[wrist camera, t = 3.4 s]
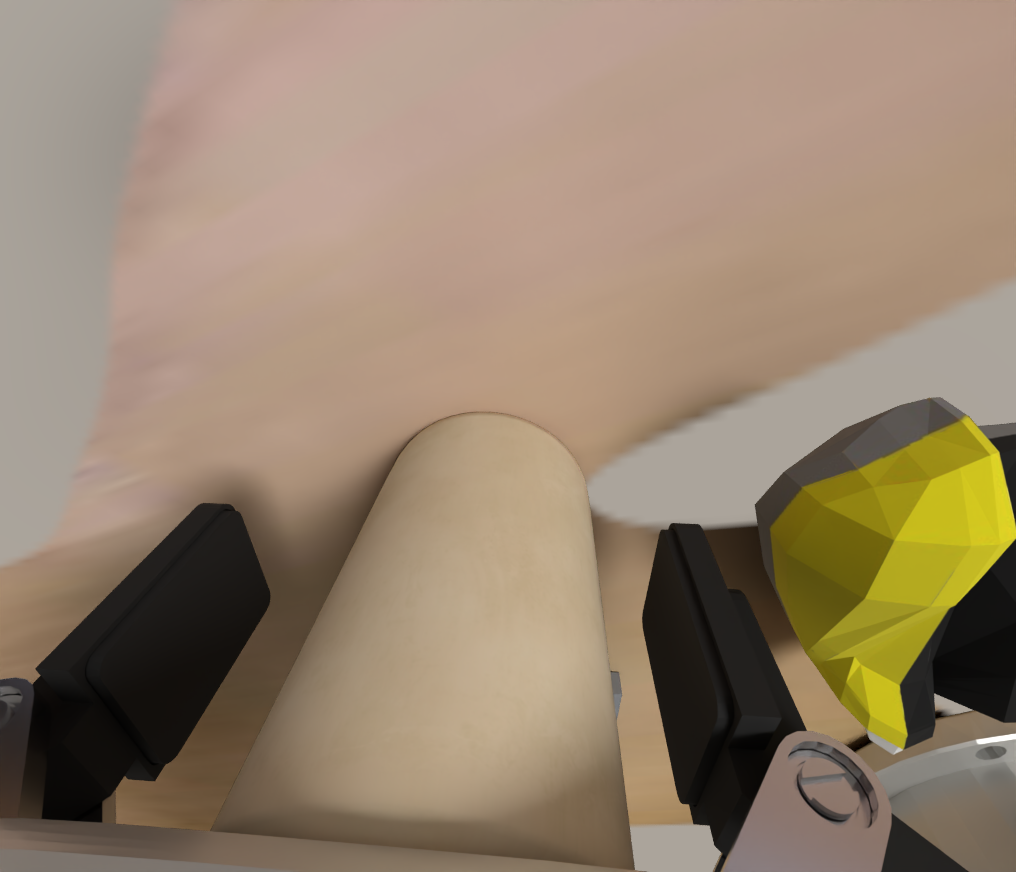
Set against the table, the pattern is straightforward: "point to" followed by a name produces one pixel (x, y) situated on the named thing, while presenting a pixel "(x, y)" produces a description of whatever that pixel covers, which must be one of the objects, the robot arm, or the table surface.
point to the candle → (454, 668)
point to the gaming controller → (902, 566)
